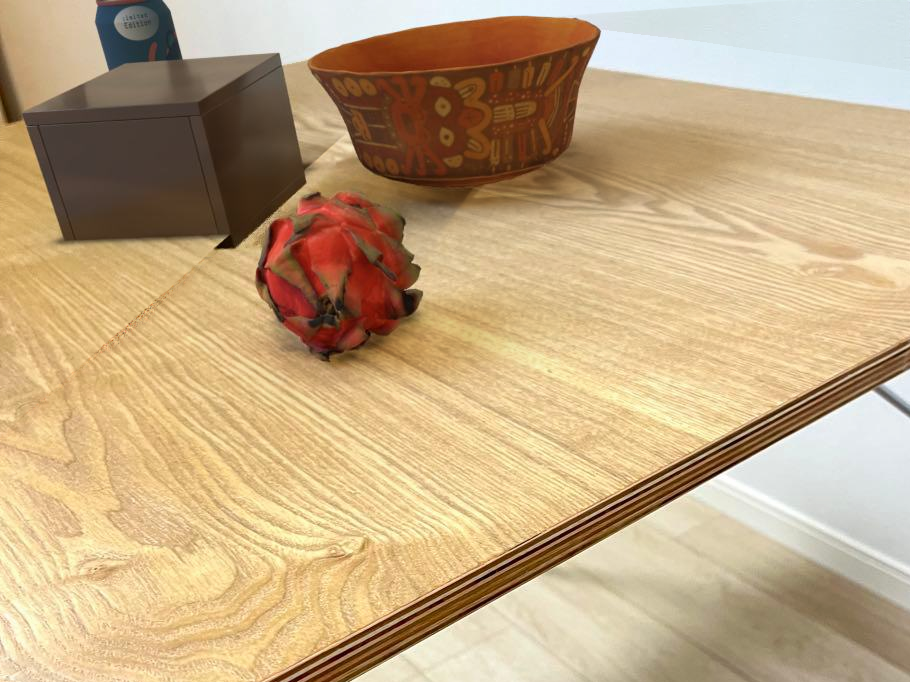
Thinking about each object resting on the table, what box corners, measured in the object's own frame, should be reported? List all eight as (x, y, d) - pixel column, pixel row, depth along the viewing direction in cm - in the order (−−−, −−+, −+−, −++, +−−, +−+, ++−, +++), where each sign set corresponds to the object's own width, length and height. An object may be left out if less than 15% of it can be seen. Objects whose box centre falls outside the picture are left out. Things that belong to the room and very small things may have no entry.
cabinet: (160, 189, 94) (124, 63, 88) (307, 183, 91) (279, 52, 86) (68, 254, 82) (20, 112, 76) (234, 248, 79) (197, 101, 74)
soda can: (188, 134, 109) (152, -3, 102) (117, 141, 109) (77, 5, 103) (206, 116, 115) (174, -15, 108) (139, 123, 115) (103, -7, 109)
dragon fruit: (378, 316, 70) (367, 432, 61) (246, 254, 67) (214, 367, 58) (443, 202, 66) (441, 310, 57) (305, 130, 62) (279, 232, 53)
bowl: (383, 145, 99) (362, 20, 93) (627, 133, 94) (620, 1, 89) (292, 226, 82) (260, 80, 76) (583, 218, 77) (571, 61, 72)
